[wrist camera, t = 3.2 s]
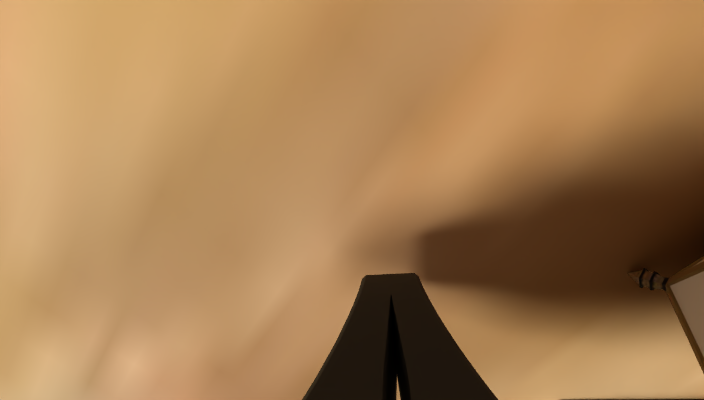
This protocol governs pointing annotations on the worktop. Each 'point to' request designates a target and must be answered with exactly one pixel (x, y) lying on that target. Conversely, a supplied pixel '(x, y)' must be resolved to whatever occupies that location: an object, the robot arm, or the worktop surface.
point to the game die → (683, 300)
